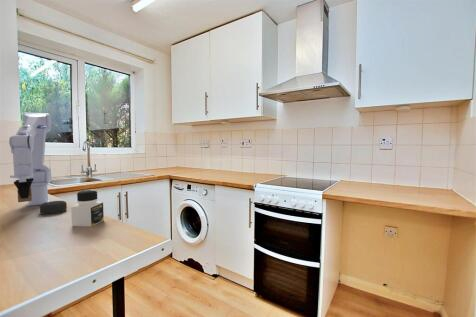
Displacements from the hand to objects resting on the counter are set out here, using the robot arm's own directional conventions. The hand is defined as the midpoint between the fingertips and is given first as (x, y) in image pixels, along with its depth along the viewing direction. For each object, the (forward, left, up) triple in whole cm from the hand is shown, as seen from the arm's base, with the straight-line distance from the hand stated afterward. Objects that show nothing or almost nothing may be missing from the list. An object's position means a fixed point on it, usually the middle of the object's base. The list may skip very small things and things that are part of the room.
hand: (25, 197), depth 96 cm
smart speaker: (+5, +9, -7) cm, 12 cm away
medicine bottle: (+31, +18, -7) cm, 37 cm away
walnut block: (0, 0, -2) cm, 2 cm away
